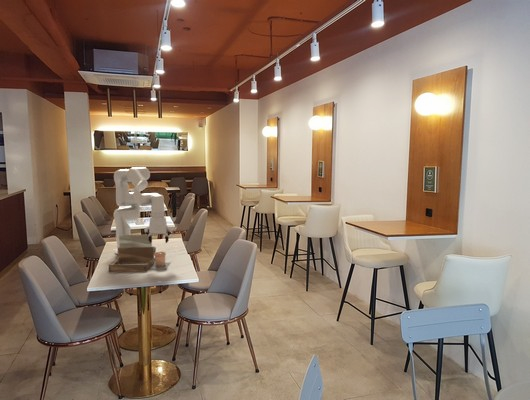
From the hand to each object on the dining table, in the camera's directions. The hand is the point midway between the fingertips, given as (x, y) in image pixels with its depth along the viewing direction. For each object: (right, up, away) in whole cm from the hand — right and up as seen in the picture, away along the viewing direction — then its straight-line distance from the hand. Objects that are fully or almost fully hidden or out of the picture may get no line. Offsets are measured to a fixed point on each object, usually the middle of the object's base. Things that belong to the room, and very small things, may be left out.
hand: (158, 242), depth 241 cm
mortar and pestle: (-12, -13, +21) cm, 27 cm away
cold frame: (-16, -15, +1) cm, 22 cm away
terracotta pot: (+1, -15, +1) cm, 15 cm away
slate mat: (+1, -15, +1) cm, 15 cm away
